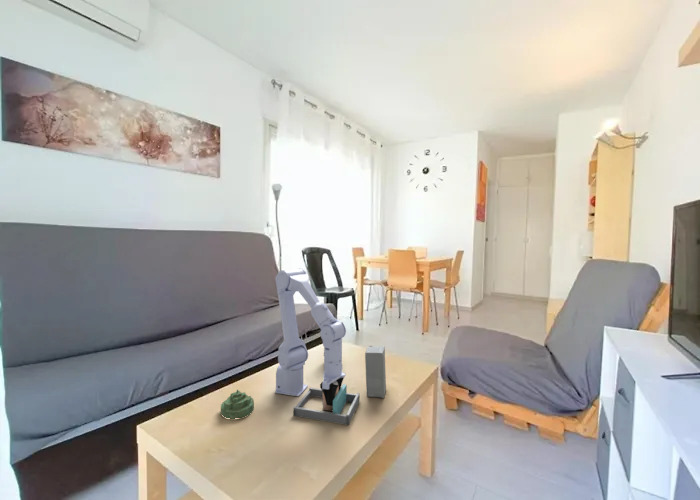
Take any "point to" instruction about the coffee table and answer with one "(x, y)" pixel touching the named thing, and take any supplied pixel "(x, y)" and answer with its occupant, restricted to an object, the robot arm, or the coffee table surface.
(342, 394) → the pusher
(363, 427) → the coffee table surface
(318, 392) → the grey tray
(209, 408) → the coffee table surface
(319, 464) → the coffee table surface
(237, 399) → the decorative artifact
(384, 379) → the skincare box
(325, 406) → the jar
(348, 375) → the coffee table surface
